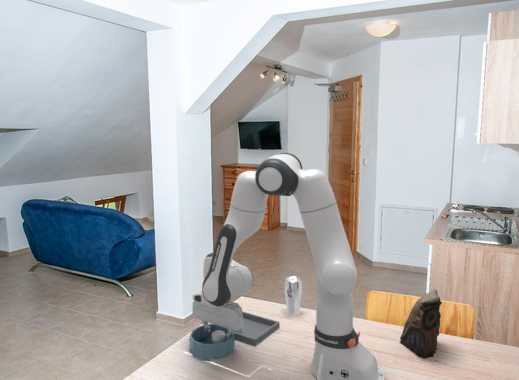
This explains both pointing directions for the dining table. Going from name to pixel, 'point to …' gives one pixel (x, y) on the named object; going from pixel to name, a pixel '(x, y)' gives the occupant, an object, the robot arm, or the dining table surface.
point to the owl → (423, 326)
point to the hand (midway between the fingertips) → (218, 335)
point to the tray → (256, 329)
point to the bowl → (210, 343)
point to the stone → (218, 337)
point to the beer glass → (293, 295)
